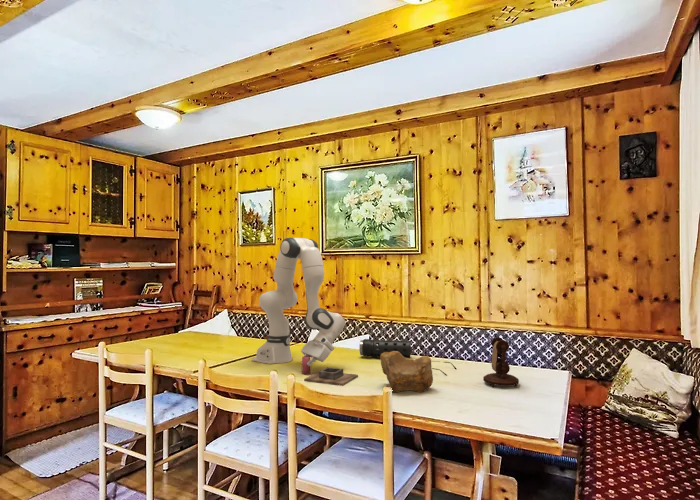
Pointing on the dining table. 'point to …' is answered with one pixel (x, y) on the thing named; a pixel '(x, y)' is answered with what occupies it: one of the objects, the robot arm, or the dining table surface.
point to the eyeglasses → (444, 362)
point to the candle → (305, 367)
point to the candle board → (331, 377)
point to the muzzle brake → (384, 347)
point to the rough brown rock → (407, 372)
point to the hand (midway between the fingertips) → (305, 364)
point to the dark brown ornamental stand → (500, 365)
